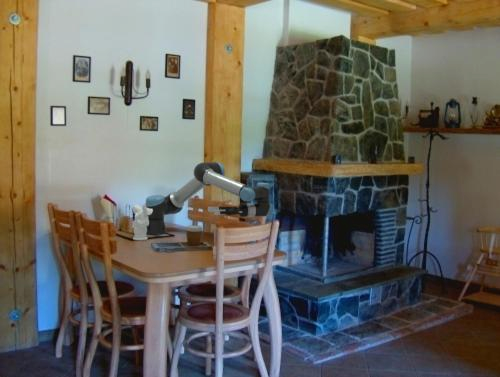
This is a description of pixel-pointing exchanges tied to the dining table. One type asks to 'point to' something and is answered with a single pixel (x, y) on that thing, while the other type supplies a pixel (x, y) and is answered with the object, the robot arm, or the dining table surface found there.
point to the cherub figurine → (141, 221)
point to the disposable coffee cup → (193, 235)
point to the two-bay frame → (181, 246)
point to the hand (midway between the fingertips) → (210, 210)
